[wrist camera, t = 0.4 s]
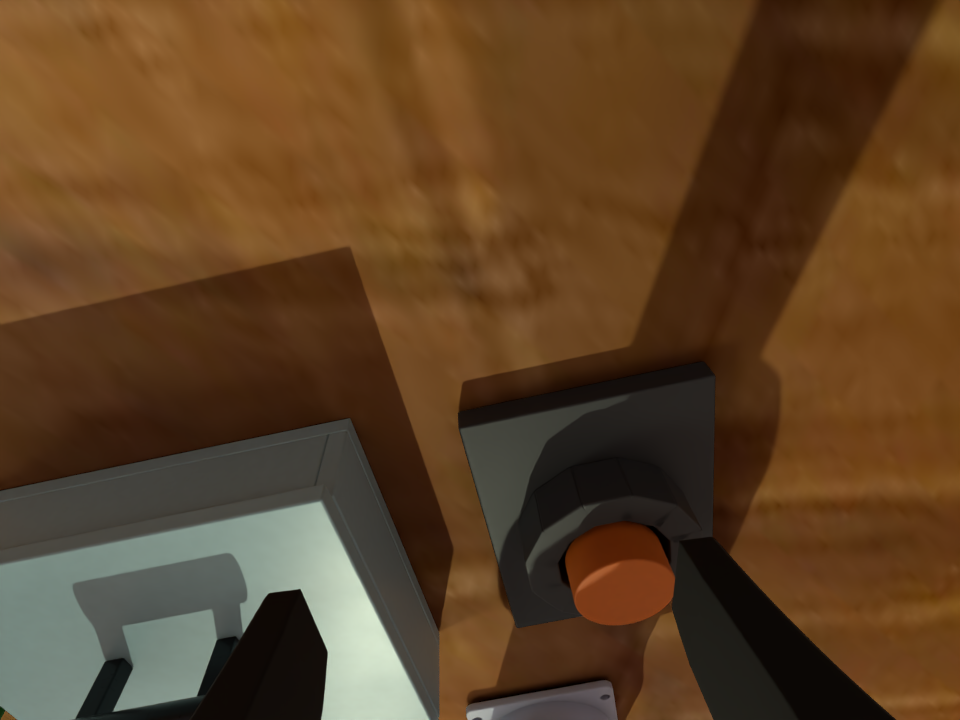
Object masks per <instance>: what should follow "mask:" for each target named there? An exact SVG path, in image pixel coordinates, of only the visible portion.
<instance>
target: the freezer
mask: <svg viewBox="0 0 960 720" xmlns="http://www.w3.org/2000/svg"><path fill="white" fill-rule="evenodd" d="M322 484H325V485H326V487H327V489H328V491H329V493H330V495H331V497H332V499H333V501H334V503H335V505H336V507H337V509H338V511H339V513H340V516H341V518H342V520H343V522H344V524H345V526H346V528H347V530H348V532H349V534H350V536H351V538H352V540H353V543H354V545H355V547H356V549H357V551H358V553H359V555H360V557H361V559H362V561H363V563H364V565H365V567H366V569H367V572H368V574H369V576H370V578H371V580H372V582H373V584H374V586H375V588H376V590H377V592H378V594H379V596H380V598H381V601H382V603H383V605H384V607H385V609H386V611H387V613H388V615H389V617H390V619H391V621H392V623H393V625H394V627H395V630H396V632H397V634H398V636H399V638H400V640H401V642H402V644H403V646H404V648H405V650H406V652H407V654H408V656H409V659H410V661H411V663H412V665H413V667H414V669H415V671H416V673H417V675H418V677H419V679H420V681H421V683H422V686H423V688H424V690H425V692H426V694H427V696H428V698H429V700H430V702H431V704H432V706H433V708H434V710H435V712H436V715H437V717H439V631H438V629H437V626H436V624H435V622H434V619H433V617H432V614H431V612H430V610H429V607H428V605H427V602H426V600H425V597H424V595H423V593H422V590H421V588H420V585H419V583H418V581H417V578H416V576H415V573H414V571H413V569H412V566H411V564H410V561H409V559H408V557H407V554H406V552H405V549H404V547H403V545H402V542H401V540H400V537H399V535H398V533H397V530H396V528H395V525H394V523H393V520H392V518H391V516H390V513H389V511H388V508H387V506H386V504H385V501H384V499H383V496H382V494H381V492H380V489H379V487H378V484H377V482H376V480H375V477H374V475H373V472H372V470H371V468H370V465H369V463H368V460H367V458H366V455H365V453H364V451H363V448H362V446H361V443H360V441H359V439H358V436H357V434H356V431H355V429H354V427H353V424H352V422H351V419H350V418H348V419H343V420H338V421H333V422H329V423H324V424H319V425H314V426H309V427H305V428H300V429H295V430H290V431H285V432H281V433H276V434H271V435H266V436H261V437H257V438H252V439H247V440H242V441H237V442H233V443H228V444H223V445H218V446H213V447H209V448H204V449H199V450H194V451H189V452H185V453H180V454H175V455H170V456H165V457H161V458H156V459H151V460H146V461H141V462H137V463H132V464H127V465H122V466H117V467H113V468H108V469H103V470H98V471H93V472H89V473H84V474H79V475H74V476H69V477H65V478H60V479H55V480H50V481H45V482H41V483H36V484H31V485H26V486H21V487H17V488H12V489H7V490H2V491H0V550H1V549H6V548H11V547H16V546H20V545H25V544H30V543H35V542H40V541H45V540H50V539H55V538H60V537H65V536H70V535H75V534H80V533H85V532H90V531H94V530H99V529H104V528H109V527H114V526H119V525H124V524H129V523H134V522H139V521H144V520H149V519H154V518H159V517H164V516H169V515H173V514H178V513H183V512H188V511H193V510H198V509H203V508H208V507H213V506H218V505H223V504H228V503H233V502H238V501H243V500H247V499H252V498H257V497H262V496H267V495H272V494H277V493H282V492H287V491H292V490H297V489H302V488H307V487H312V486H317V485H322Z"/></svg>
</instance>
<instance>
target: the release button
mask: <svg viewBox="0 0 960 720" xmlns="http://www.w3.org/2000/svg"><path fill="white" fill-rule="evenodd" d="M565 565H566V569H567V574H568V578H569V582H570V586H571V591H572V595H573V599H574V603H575V606H576V608H577V610H578V611H579V612H580V614H581V615H582V616H584V617H585V618H586V619H588V620H590V621H592V622H595V623H598V624H603V625H626V624H631V623H636V622H639V621H642V620H645V619H647V618H649V617H651V616H653V615H655V614H656V613H658V612H659V611H661V610H662V609H663V608H664V607H665V606H667V604H668V603H669V602H670V601H671V599H672V598H673V593H674V584H675V576H674V573H673V571H672V569H671V566H670V564H669V562H668V559H667V557H666V555H665V552H664V550H663V548H662V545H661V543H660V541H659V538H658V537H657V535H656V534H655V533H654V532H653V531H652V530H651V529H650V528H648V527H646V526H645V525H642V524H640V523H635V522H629V521H621V522H615V523H610V524H605V525H600V526H595V527H593V528H592V529H590V530H589V531H587V532H585V533H584V534H582V535H581V536H579V537H577V538H576V539H575V540H574V541H573V542H572V543H571V544H570V546H569V548H568V550H567V553H566V556H565Z"/></svg>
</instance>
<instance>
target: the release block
mask: <svg viewBox="0 0 960 720" xmlns="http://www.w3.org/2000/svg"><path fill="white" fill-rule="evenodd" d="M714 422H715V375H714V373H713V372H712V371H711V370H710V368H709V367H708V366H707V364H706V363H705V362H698V363H693V364H688V365H684V366H679V367H674V368H669V369H664V370H659V371H655V372H650V373H645V374H640V375H635V376H630V377H626V378H621V379H616V380H611V381H606V382H601V383H596V384H592V385H587V386H582V387H577V388H572V389H567V390H563V391H558V392H553V393H548V394H543V395H538V396H534V397H529V398H524V399H519V400H514V401H509V402H505V403H500V404H495V405H490V406H485V407H480V408H476V409H471V410H466V411H461V412H459V413H458V425H459V431H460V435H461V438H462V442H463V445H464V449H465V452H466V456H467V459H468V463H469V466H470V469H471V473H472V476H473V480H474V483H475V487H476V490H477V494H478V497H479V500H480V504H481V507H482V511H483V514H484V518H485V521H486V525H487V528H488V531H489V535H490V538H491V542H492V545H493V549H494V552H495V556H496V559H497V563H498V566H499V569H500V573H501V576H502V580H503V583H504V587H505V590H506V594H507V597H508V600H509V604H510V607H511V611H512V614H513V618H514V621H515V625H516V627H517V628H521V627H526V626H531V625H537V624H542V623H548V622H553V621H558V620H564V619H569V618H575V617H580V616H582V615H581V614H580V612H579V611H578V610H577V608H576V606H575V603H574V599H573V595H572V591H571V586H570V582H569V578H568V574H567V569H566V565H565V556H566V553H567V550H568V548H569V546H570V544H571V543H572V542H573V541H574V540H575V539H576V538H577V537H579V536H581V535H582V534H584V533H585V532H587V531H589V530H590V529H592V528H593V527H595V526H600V525H605V524H610V523H615V522H621V521H629V522H635V523H640V524H642V525H645V526H646V527H648V528H650V529H651V530H652V531H653V532H654V533H655V534H656V535H657V537H658V538H659V541H660V543H661V545H662V548H663V550H664V552H665V555H666V557H667V559H668V562H669V564H670V566H671V569H672V571H673V573H674V576H675V575H676V565H677V556H678V547H679V541H681V540H689V539H697V538H704V537H712V536H713V479H714ZM672 599H673V598H672ZM672 599H671V600H672Z"/></svg>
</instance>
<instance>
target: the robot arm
mask: <svg viewBox="0 0 960 720" xmlns="http://www.w3.org/2000/svg"><path fill="white" fill-rule="evenodd" d="M672 610H673V613H674V617H675V620H676V623H677V626H678V630H679V633H680V636H681V639H682V642H683V645H684V648H685V651H686V654H687V657H688V660H689V664H690V666H691V668H692V671H693V673H694V675H695V678H696V680H697V683H698V685H699V687H700V689H701V692H702V694H703V696H704V699H705V701H706V703H707V706H708V708H709V710H710V713H711V715H712V717H713V719H714V720H896V719H895V718H894V717H892V716H891V715H890V714H889V713H888V712H887V711H886V710H884V709H883V708H882V707H881V706H880V705H879V704H878V703H877V702H875V701H874V700H873V699H872V698H871V697H870V696H869V695H868V694H867V693H866V692H864V691H863V690H862V689H861V688H860V687H859V686H858V685H857V684H856V683H855V682H854V681H852V680H851V679H850V678H849V677H848V676H847V675H846V674H845V673H844V672H843V671H842V670H841V669H839V668H838V667H837V666H836V665H835V664H834V663H833V662H832V661H831V660H830V659H829V658H828V657H827V656H826V655H825V654H824V653H823V652H822V651H821V650H820V649H819V648H818V647H817V646H816V645H815V644H814V643H813V642H812V641H811V640H810V639H809V638H808V637H807V636H806V635H805V634H804V633H803V632H802V631H801V630H800V629H799V628H798V627H797V626H796V625H795V624H794V623H793V622H792V621H791V620H790V619H789V618H788V617H787V616H786V615H785V614H784V613H783V612H782V611H781V610H780V609H779V608H778V607H777V606H776V605H775V604H774V603H773V602H772V601H771V600H770V599H769V598H768V597H767V595H766V594H765V593H764V592H763V591H762V590H761V589H760V588H759V587H758V586H757V585H756V584H755V583H754V582H753V581H752V579H751V578H750V577H749V576H748V575H747V574H746V573H745V572H744V571H743V570H742V568H741V567H740V566H739V565H738V564H737V563H736V562H735V561H734V560H733V558H732V557H731V556H730V555H729V554H728V553H727V552H726V551H725V549H724V548H723V547H722V546H721V545H720V544H719V543H718V542H717V540H715V539H714V538H713V537H704V538H697V539H689V540H681V541H679V547H678V556H677V565H676V575H675V584H674V593H673V602H672ZM327 658H328V651H327V649H326V646H325V644H324V642H323V639H322V637H321V635H320V632H319V630H318V628H317V625H316V623H315V621H314V619H313V616H312V614H311V612H310V609H309V607H308V605H307V602H306V600H305V598H304V596H303V593H302V591H301V589H297V590H289V591H281V592H273V593H268V595H267V596H266V597H265V598H264V600H263V601H262V603H261V605H260V607H259V608H258V610H257V612H256V613H255V615H254V617H253V618H252V620H251V622H250V623H249V625H248V627H247V628H246V630H245V632H244V633H243V635H242V637H241V638H240V640H239V642H238V643H237V645H236V647H235V648H234V650H233V652H232V653H231V655H230V657H229V658H228V660H227V661H226V663H225V665H224V666H223V668H222V670H221V671H220V673H219V674H218V676H217V677H216V679H215V681H214V682H213V684H212V685H211V687H210V688H209V690H208V691H207V693H206V695H205V696H204V698H203V699H202V701H201V702H200V704H199V705H198V707H197V709H196V710H195V712H194V713H193V715H192V716H191V718H190V719H189V720H321V717H322V712H323V703H324V693H325V683H326V671H327ZM466 716H467V719H468V720H618V718H617V712H616V705H615V699H614V692H613V687H612V684H611V682H609V681H607V680H600V681H595V682H589V683H584V684H578V685H573V686H567V687H561V688H556V689H550V690H545V691H539V692H533V693H528V694H522V695H517V696H511V697H506V698H500V699H494V700H489V701H483V702H478V703H473V704H470V705H468V706H467V707H466Z"/></svg>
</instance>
